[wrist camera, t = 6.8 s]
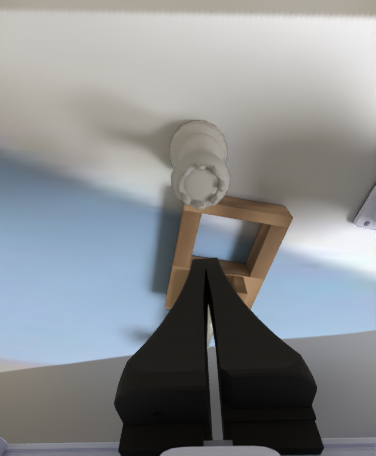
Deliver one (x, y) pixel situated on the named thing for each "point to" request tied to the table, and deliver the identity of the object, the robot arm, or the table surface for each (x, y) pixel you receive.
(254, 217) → the wooden frame
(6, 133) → the table surface
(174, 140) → the rook chess piece
